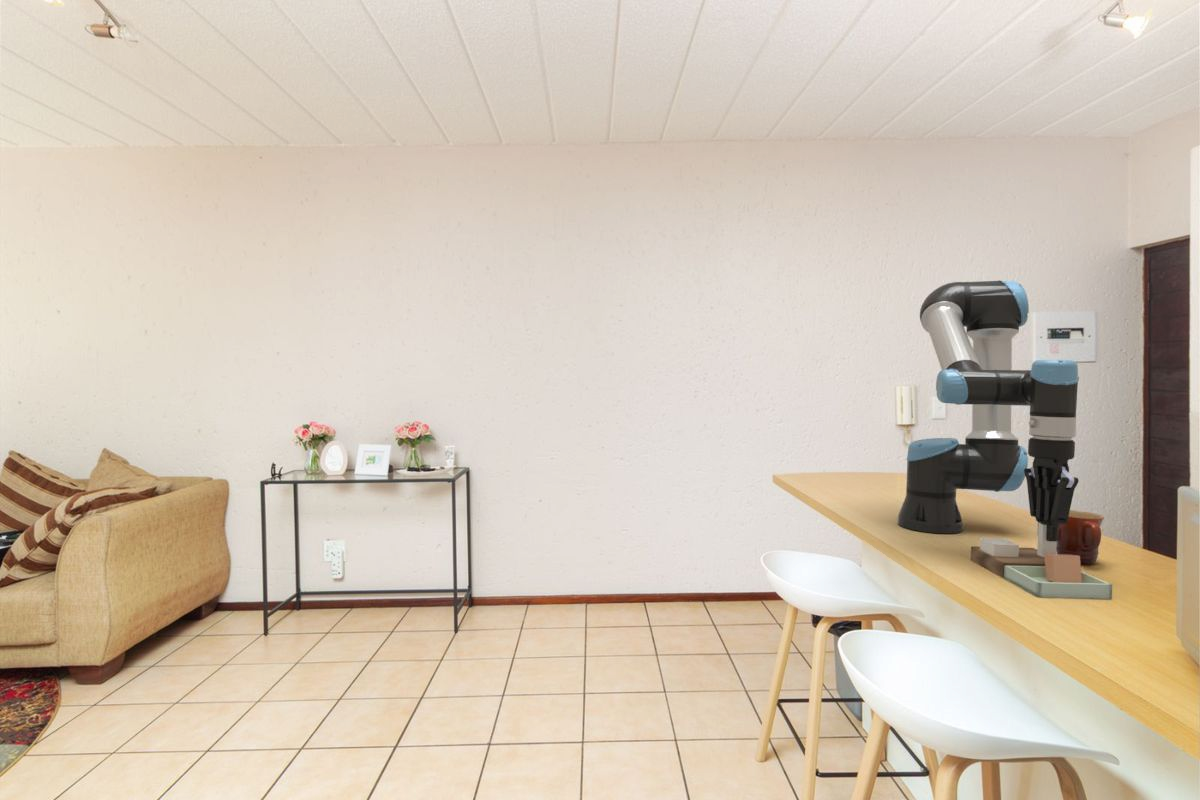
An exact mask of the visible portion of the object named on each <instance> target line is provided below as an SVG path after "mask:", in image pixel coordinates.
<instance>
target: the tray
mask: <svg viewBox="0 0 1200 800" xmlns="http://www.w3.org/2000/svg"><path fill="white" fill-rule="evenodd" d="M1081 577H1082V583H1070V582H1052V581H1048V580H1046V571H1045V566H1011V565H1004V578H1003V579H1004V580H1006V581H1008V582H1009V583H1011V584H1013V585H1015V586H1017V587H1019V588H1020V589H1022V590H1024V591H1026V592H1027V593H1030V594H1032V595H1033V596H1035V597H1037V598H1062V599H1063V598H1065V599H1066V598H1067V599H1091V598H1093V599H1094V600H1095V599H1098V600H1099V599H1100V600H1113V584H1111V583H1109V582H1107V581H1105V580H1102V579H1100V578H1098V577H1096V576H1093V575H1091V574H1089V573H1087V572H1084V571H1082V570H1081ZM1093 599H1092V600H1093Z"/></svg>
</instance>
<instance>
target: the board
mask: <svg viewBox="0 0 1200 800" xmlns="http://www.w3.org/2000/svg"><path fill="white" fill-rule="evenodd" d="M970 561H971V562H973V563H975V564H977V565H979V566H981V567H983V568H984V569H985V570H988V571H990V572H992V573H993V574H995V575H997V576H999V577H1000V578H1002V579H1004V565H1011V566H1045V557H1041V556H1039V555H1037V549H1036V548H1034V547H1019V554H1018V557H995V556H991V555H989V554H987V553H986V552H984V551H982V550H980V546H971V547H970Z"/></svg>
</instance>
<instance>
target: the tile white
mask: <svg viewBox="0 0 1200 800" xmlns="http://www.w3.org/2000/svg"><path fill="white" fill-rule="evenodd" d="M979 547H980V550H982V551H984V552H986V553H987V554H989V555H991V556H995V557H1018V554H1019V548H1020V545H1019V544H1017V543H1015V542H1014V541H1011V540H1008V539H1007V538H993V537H991V538H989V537H980V539H979Z"/></svg>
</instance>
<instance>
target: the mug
mask: <svg viewBox="0 0 1200 800" xmlns="http://www.w3.org/2000/svg"><path fill="white" fill-rule="evenodd" d="M1104 519H1105V517H1104V516H1103V515H1101V514H1099V513H1094V512H1089V511H1088V512H1087V511H1083V510H1074V509H1073V510H1072V509H1070V511H1069V516H1068V520H1067V523H1066V524H1060V525H1059V526H1058V536H1057V537H1058V538H1057V546H1056V554H1071V555H1078V556H1080V564H1081V565H1084V566H1087V565H1093V564H1095V563H1096V562H1097V560H1098V557H1099V553H1100V552H1099V549H1100V548H1099V546H1100V544H1101V541H1102V530H1101V526H1102V523H1103V522H1104Z"/></svg>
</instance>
